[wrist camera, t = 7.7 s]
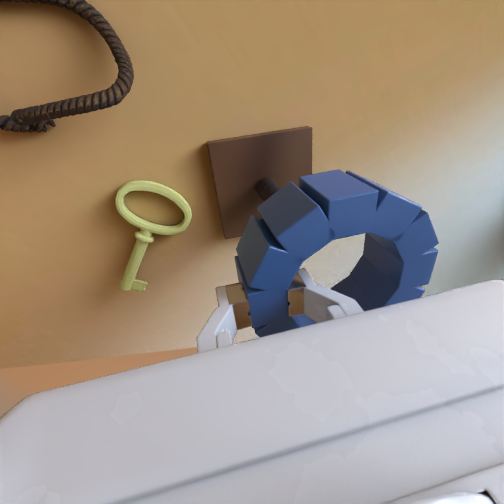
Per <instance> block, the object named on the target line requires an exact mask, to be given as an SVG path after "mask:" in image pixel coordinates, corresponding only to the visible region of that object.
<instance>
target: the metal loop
mask: <svg viewBox="0 0 504 504" xmlns="http://www.w3.org/2000/svg"><path fill="white" fill-rule="evenodd" d="M4 1H6V2H12V1H15V2H28V3H29V2H33V3H36V2H40V3H43V4H46V3H48V4H50V5H57V6H59V7H65V8H66V9H68V10H71V11H73V12H74V13H76V14H78V15H80V16H81V17H82V18H84V19H86V20H87V21H88V22H89V23H90V24H91V25H93V26H94V28H95V29H96V30H97V31H98V32H99V33H100V35H101V36H102V37H103V38H104V39H105V41H106V42H107V44H108V45H109V47H110V49H111V51H112V54H113V56H114V57H115V62H116V63H117V64H118V69H119V73H118V78H117V79H116V82H115V83H114V84H113V85H112V86H111V87H110V88H108V89H107V90H102V91H101V92H95V93H94V94H88V95H83V96H80V97H75V98H70V99H66V100H61V101H58V102H52V103H47V104H44V105H40V106H33V107H28V108H25V109H18V110H14V111H13V112H12V114H11V116H5V115H4V116H0V128H1V129H2V130H6V131H10V130H11V131H13V132H19V131H21V132H27V131H28V132H33V131H36V132H42V131H43V132H47V128H46V125H45V124H50V125H51V126H53V127H54V126H56V124H55V123H54V121H53V120H51V119H56V118H61V117H66V116H70V115H76V114H82V113H88V112H91V111H96V110H98V109H101V110H102V109H104V108H108V107H111V106H113V105H117V104H119V103H120V102H121V101H122V100H123V99H124V97H125V96H126V95H127V93H129V92H130V90H131V86H132V83H133V78H134V74H133V68H132V63H131V60H130V57H129V55H128V53H127V51H126V50H125V48H124V46H123V44H122V43H121V40H120V39H119V37H118V36H117V34H116V33H115V31H114V30H113V28H112V27H111V26H110V24H109V23H108V21H107V20H106V19H104V17H103V16H102V15H101V14H100V13H99V12H98V11H97V10H96V9H95V8H94V7H93V6H92V5H90V4H88V3H87V2H86V1H85V0H0V2H4Z"/></svg>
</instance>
